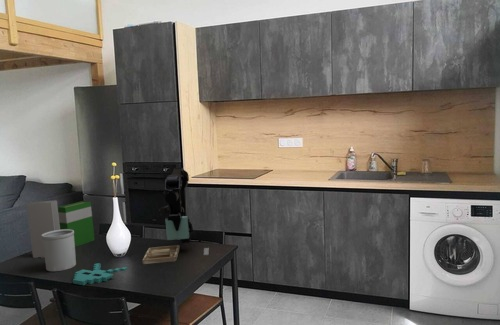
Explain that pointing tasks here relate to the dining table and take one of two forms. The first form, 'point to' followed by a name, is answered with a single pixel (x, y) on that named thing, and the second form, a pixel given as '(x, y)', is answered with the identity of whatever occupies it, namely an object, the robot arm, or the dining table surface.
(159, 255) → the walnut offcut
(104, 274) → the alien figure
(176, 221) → the robot arm
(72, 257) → the utensil holder
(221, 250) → the dining table surface
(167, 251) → the pine offcut
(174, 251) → the rack
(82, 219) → the hardback book
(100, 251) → the dining table surface
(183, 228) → the teal square block
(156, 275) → the dining table surface
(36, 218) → the grey upright box
